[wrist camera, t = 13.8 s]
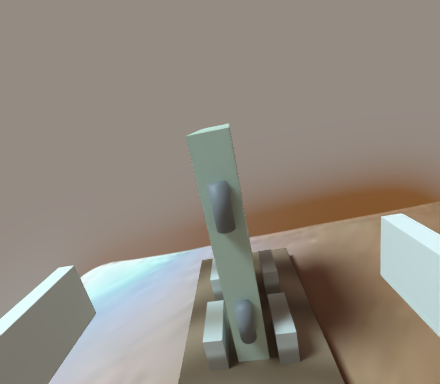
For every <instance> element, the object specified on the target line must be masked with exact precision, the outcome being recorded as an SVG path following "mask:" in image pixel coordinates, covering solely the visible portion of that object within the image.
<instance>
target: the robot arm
mask: <svg viewBox="0 0 440 384" xmlns="http://www.w3.org/2000/svg"><path fill="white" fill-rule="evenodd" d="M381 276H382V277H383V278H384V279H385V280H386V281H387V282H388V283H389V284H390V285H391V286H392V288H393V289H394V290H395V291H396V292H397V293H398V294H399V295H400V296H401V297H402V298H403V299H404V300H405V301H406V302H407V303H408V304H409V305H410V306H411V307H412V309H413V310H414V311H415V312H416V313H417V314H418V315H419V316H420V317H421V318H422V319H423V320H424V321H425V322H426V323H427V324H428V325H429V326H430V327H431V328H432V330H433V331H434V332H435V333H436V334H437V335H438V336H439V337H440V235H439V234H438V233H436V232H434V231H432V230H431V229H429V228H427V227H425V226H423V225H422V224H420V223H418V222H416V221H415V220H413V219H411V218H409V217H407V216H406V215H404V214H402V213H401V214H395V215H388V216H382V217H381ZM95 314H96V312H95V309H94V307H93V305H92V303H91V301H90V299H89V297H88V294H87V292H86V290H85V288H84V286H83V284H82V281H81V279H80V277H79V275H78V273H77V271H76V268H75V267H74V266H68V267H61V268H58V269H57V270H56V271H55V272H53V274H51V275H50V276H49V277H48V278H47V279H46V280H44V281H43V282H42V283H41V284H40V285H39V286H38V287H36V288H35V289H34V290H33V291H32V292H31V293H30V294H29V295H27V296H26V297H25V298H24V299H23V300H22V301H21V302H19V303H18V304H17V305H16V306H15V307H14V308H12V309H11V310H10V311H9V312H8V313H7V314H6V315H4V316H3V317H2V318H1V319H0V384H48V383H49V382H50V380H51V379H52V377H53V376H54V374H55V373H56V371H57V370H58V368H59V367H60V365H61V364H62V363H63V361H64V360H65V358H66V357H67V355H68V354H69V352H70V351H71V349H72V348H73V346H74V345H75V344H76V342H77V341H78V339H79V338H80V336H81V335H82V333H83V332H84V330H85V329H86V327H87V326H88V324H89V323H90V322H91V320H92V319H93V317H94V316H95Z"/></svg>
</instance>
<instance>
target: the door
mask: <svg viewBox="0 0 440 384" xmlns="http://www.w3.org/2000/svg"><path fill="white" fill-rule="evenodd" d="M186 139H187V143H188V147H189V152H190V156H191V160H192V164H193V169H194V173H195V177H196V182H197V186H198V190H199V194H200V199H201V203H202V207H203V212H204V215H205V220H206V224H207V229H208V233H209V237H210V241H211V246H212V250H213V254H214V259H215V263H216V267H217V271H218V276H219V280H220V284H221V289H222V293H223V297H224V301H225V306H226V310H227V314H228V318H229V323H230V327H231V331H232V336H233V340H234V344H235V348H236V353H237V357H238V361H239V362H243V361H252V360H262V359H270V357H269V351H268V345H267V339H266V333H265V327H264V321H263V315H262V309H261V303H260V297H259V291H258V286H257V280H256V274H255V268H254V262H253V257H252V251H251V245H250V240H249V234H248V229H247V223H246V217H245V211H244V206H243V201H242V194H241V190H240V183H239V177H238V172H237V166H236V161H235V155H234V150H233V143H232V138H231V132H230V127H229V124H224V125H219V126H215V127H210V128H205V129H202V130H200V131H197V132H195V133H193V134H190V135H187V136H186Z"/></svg>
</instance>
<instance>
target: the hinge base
mask: <svg viewBox="0 0 440 384" xmlns="http://www.w3.org/2000/svg"><path fill="white" fill-rule="evenodd" d="M252 257H253V262H254V268H255V274H256V280H257V286H258V291H259V297H260V303H261V309H262V315H263V321H264V327H265V333H266V339H267V345H268V351H269V357H270V359H262V360H252V361H243V362H239V361H238V357H237V353H236V348H235V344H234V340H233V336H232V331H231V327H230V323H229V318H228V314H227V310H226V306H225V301H224V297H223V293H222V289H221V284H220V280H219V276H218V271H217V267H216V263H215V259H214V258H213V259H207V260H202V264H201V269H200V275H199V280H198V285H197V290H196V295H195V301H194V306H193V311H192V316H191V321H190V326H189V332H188V337H187V342H186V347H185V352H184V357H183V363H182V368H181V373H180V378H179V383H178V384H345V383H344V381H343V379H342V376H341V374H340V372H339V369H338V367H337V365H336V362H335V360H334V358H333V356H332V353H331V351H330V349H329V346H328V344H327V342H326V339H325V337H324V335H323V332H322V330H321V328H320V326H319V323H318V321H317V319H316V316H315V314H314V312H313V309H312V307H311V305H310V302H309V300H308V298H307V295H306V293H305V291H304V289H303V286H302V284H301V282H300V279H299V277H298V275H297V272H296V270H295V268H294V265H293V263H292V261H291V259H290V256H289V254H288V252H287V249H286V248H283V249H276V250H265V251H258V252H255V253H252Z"/></svg>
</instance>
